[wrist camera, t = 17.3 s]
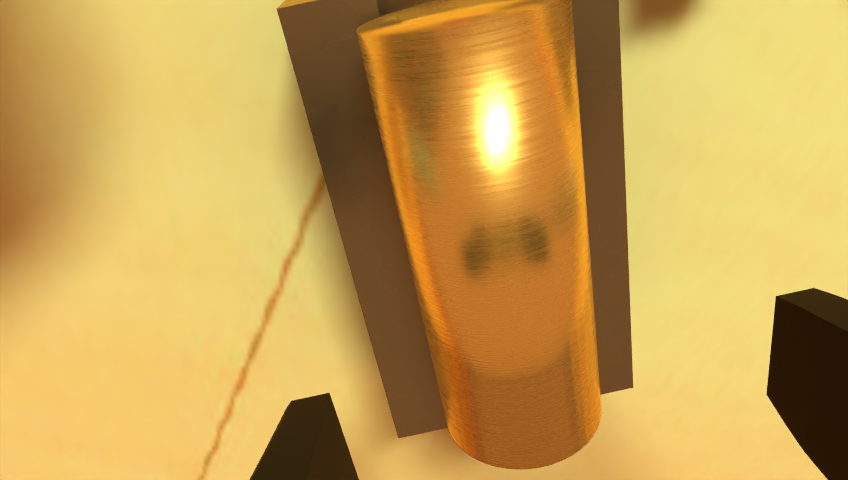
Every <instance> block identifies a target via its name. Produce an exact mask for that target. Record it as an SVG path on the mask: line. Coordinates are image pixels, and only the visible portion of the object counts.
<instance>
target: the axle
mask: <svg viewBox="0 0 848 480" xmlns="http://www.w3.org/2000/svg"><path fill="white" fill-rule="evenodd" d="M356 32H357V36H358V40H359V45H360V49H361V53H362V58H363V62H364V66H365V71H366V75H367V79H368V84H369V88H370V92H371V97H372V101H373V105H374V110H375V114H376V118H377V123H378V127H379V131H380V136H381V140H382V144H383V149H384V153H385V157H386V162H387V166H388V170H389V175H390V179H391V183H392V188H393V192H394V196H395V201H396V205H397V209H398V214H399V218H400V222H401V227H402V231H403V235H404V240H405V244H406V248H407V253H408V257H409V261H410V266H411V270H412V274H413V279H414V283H415V287H416V292H417V296H418V300H419V305H420V309H421V313H422V318H423V322H424V326H425V331H426V335H427V339H428V344H429V348H430V352H431V357H432V361H433V365H434V370H435V374H436V378H437V383H438V387H439V391H440V396H441V400H442V404H443V409H444V413H445V417H446V422H447V426H448V430H449V432H450V434H451V436H452V438H453V439H454V441H455V442H456V444H457V445H458V446H459V447H460V448H461V449H462V450H463V451H464V452H466V453H467V454H468V455H470V456H471V457H473V458H475V459H477V460H479V461H481V462H483V463H486V464H489V465H492V466H496V467H501V468H507V469H532V468H539V467H544V466H548V465H552V464H554V463H557V462H560V461H562V460H564V459H566V458H568V457H570V456H572V455H573V454H575V453H576V452H578V451H579V450H580V449H581V448H583V447H584V446H585V445H586V444H587V443H588V442H589V440H590V439H591V438H592V437H593V435H594V433H595V432H596V430H597V428H598V425H599V422H600V418H601V398H600V384H599V370H598V357H597V343H596V329H595V315H594V302H593V288H592V274H591V260H590V247H589V233H588V219H587V205H586V192H585V178H584V164H583V150H582V137H581V123H580V109H579V95H578V81H577V68H576V54H575V40H574V26H573V13H572V0H437V1H433V2H429V3H425V4H421V5H417V6H413V7H409V8H406V9H402V10H399V11H396V12H392V13H389V14H386V15H383V16H381V17H378V18H375V19H373V20H371V21H368V22H366V23H364V24H363V25H361V26H360V27H358V28H357V30H356Z"/></svg>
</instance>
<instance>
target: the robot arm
mask: <svg viewBox="0 0 848 480" xmlns="http://www.w3.org/2000/svg"><path fill="white" fill-rule="evenodd" d="M767 396H768V397H769V399H770V401H771V402H772V404H773V405H774V407H775V408H776V410H777V412H778V413H779V415H780V416H781V418H782V419H783V421H784V423H785V424H786V426H787V427H788V429H789V430H790V431H791V433H792V434H793V436H794V437H795V439H796V440H797V442H798V443H799V445H800V446H801V447H802V449H803V450H804V452H805V453H806V454H807V455H808V457H809V458H810V459H811V460H812V461H813V463H814V464H815V465H816V466H817V467H818V469H819V470H820V471H821V472H822V473H823V474H824V476H825V477H826V478H827V479H828V480H848V300H847V299H844V298H842V297H839V296H836V295H833V294H830V293H827V292H824V291H821V290H818V289H815V288H812V289H808V290H803V291H798V292H794V293H789V294H784V295H780V296H776V302H775V312H774V323H773V333H772V344H771V354H770V365H769V375H768V386H767ZM250 480H359V479H358V476H357V473H356V470H355V467H354V464H353V461H352V458H351V455H350V452H349V449H348V446H347V444H346V441H345V438H344V435H343V432H342V429H341V426H340V423H339V420H338V417H337V414H336V411H335V408H334V405H333V402H332V399H331V396H330V393H326V394H322V395H317V396H312V397H308V398H303V399H298V400H294V401H291V403H290V404H289V405H288V407H287V408H286V410H285V412H284V414H283V416H282V418H281V420H280V422H279V424H278V426H277V428H276V430H275V432H274V434H273V436H272V438H271V440H270V442H269V444H268V446H267V448H266V450H265V452H264V454H263V455H262V457H261V459H260V461H259V463H258V465H257V467H256V469H255V471H254V472H253V474H252V476H251V478H250Z"/></svg>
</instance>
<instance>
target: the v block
mask: <svg viewBox="0 0 848 480" xmlns="http://www.w3.org/2000/svg"><path fill="white" fill-rule="evenodd" d="M433 1H437V0H285V1H284V2H283V3H282V4H281V5H280V6H279V7H278V8H277V11H278V15H279V18H280V22H281V25H282V29H283V32H284V36H285V39H286V43H287V47H288V50H289V54H290V57H291V61H292V64H293V68H294V71H295V75H296V78H297V82H298V85H299V89H300V92H301V96H302V99H303V103H304V106H305V110H306V114H307V117H308V121H309V124H310V128H311V131H312V135H313V138H314V142H315V145H316V149H317V152H318V156H319V159H320V163H321V166H322V170H323V174H324V177H325V181H326V184H327V188H328V191H329V195H330V198H331V202H332V205H333V209H334V212H335V216H336V219H337V223H338V226H339V230H340V233H341V237H342V241H343V244H344V248H345V251H346V255H347V258H348V262H349V265H350V269H351V272H352V276H353V279H354V283H355V286H356V290H357V293H358V297H359V300H360V304H361V308H362V311H363V315H364V318H365V322H366V325H367V329H368V332H369V336H370V339H371V343H372V346H373V350H374V353H375V357H376V360H377V364H378V367H379V371H380V375H381V378H382V382H383V385H384V389H385V392H386V396H387V399H388V403H389V406H390V410H391V413H392V417H393V420H394V424H395V427H396V431H397V435H398V438H402V437H406V436H411V435H416V434H420V433H425V432H429V431H434V430H439V429H443V428H448V426H447V422H446V417H445V413H444V409H443V404H442V400H441V396H440V391H439V387H438V383H437V378H436V374H435V370H434V365H433V361H432V357H431V352H430V348H429V344H428V339H427V335H426V331H425V326H424V322H423V318H422V313H421V309H420V305H419V300H418V296H417V292H416V287H415V283H414V279H413V274H412V270H411V266H410V261H409V257H408V253H407V248H406V244H405V240H404V235H403V231H402V227H401V222H400V218H399V214H398V209H397V205H396V201H395V196H394V192H393V188H392V183H391V179H390V175H389V170H388V166H387V162H386V157H385V153H384V149H383V144H382V140H381V136H380V131H379V127H378V123H377V118H376V114H375V110H374V105H373V101H372V97H371V92H370V88H369V84H368V79H367V75H366V71H365V66H364V62H363V58H362V53H361V49H360V45H359V40H358V36H357V32H356V30H357V28H358V27H360V26H361V25H363V24H364V23H366V22H368V21H371V20H373V19H375V18H378V17H381V16H383V15H386V14H389V13H392V12H396V11H399V10H402V9H406V8H409V7H413V6H417V5H421V4H425V3H429V2H433ZM572 13H573V26H574V40H575V54H576V68H577V81H578V95H579V109H580V123H581V137H582V150H583V164H584V178H585V192H586V205H587V219H588V233H589V247H590V260H591V274H592V288H593V302H594V315H595V329H596V343H597V357H598V370H599V384H600V394H605V393H610V392H614V391H619V390H624V389H628V388H633V372H632V346H631V319H630V293H629V266H628V239H627V213H626V186H625V160H624V133H623V106H622V80H621V53H620V26H619V0H572Z"/></svg>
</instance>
